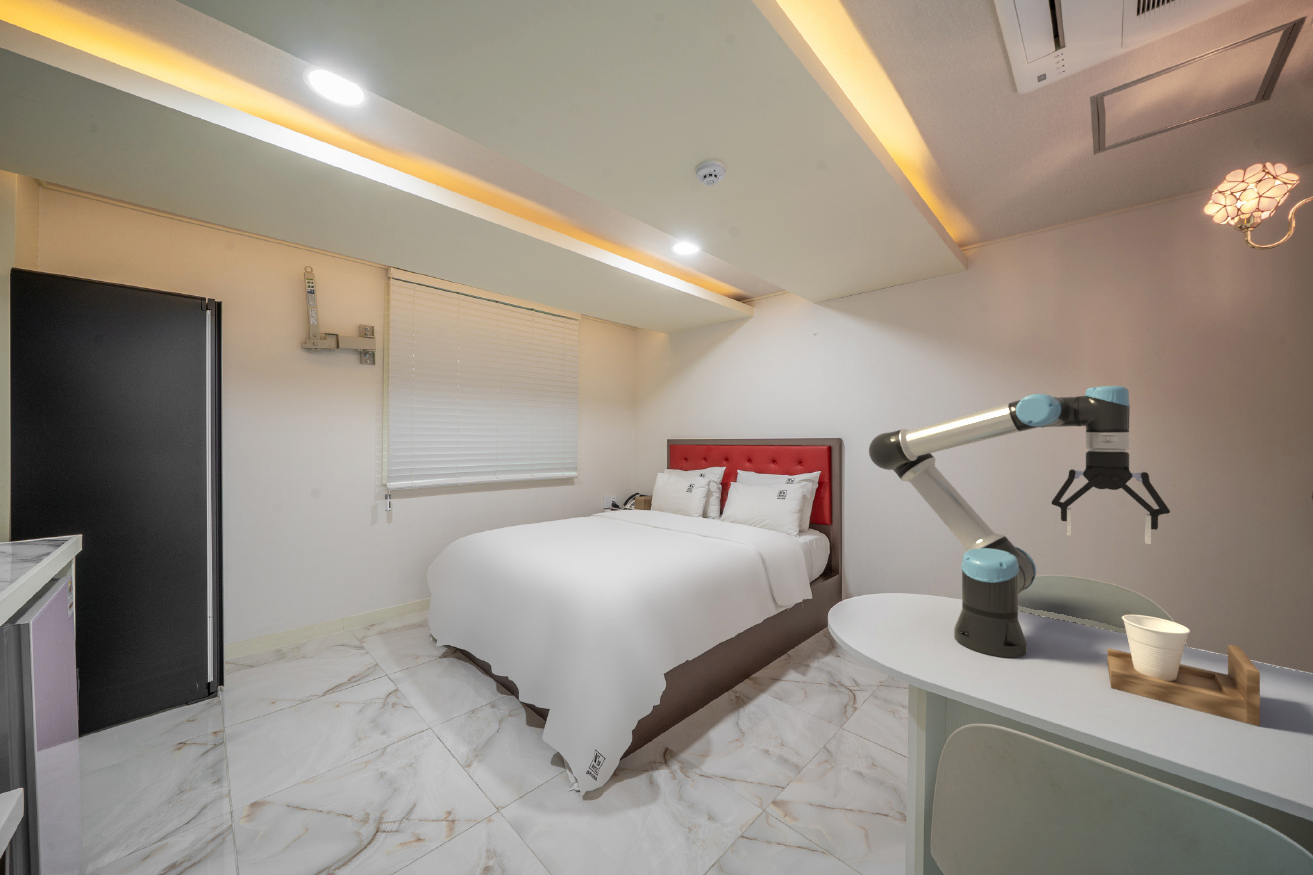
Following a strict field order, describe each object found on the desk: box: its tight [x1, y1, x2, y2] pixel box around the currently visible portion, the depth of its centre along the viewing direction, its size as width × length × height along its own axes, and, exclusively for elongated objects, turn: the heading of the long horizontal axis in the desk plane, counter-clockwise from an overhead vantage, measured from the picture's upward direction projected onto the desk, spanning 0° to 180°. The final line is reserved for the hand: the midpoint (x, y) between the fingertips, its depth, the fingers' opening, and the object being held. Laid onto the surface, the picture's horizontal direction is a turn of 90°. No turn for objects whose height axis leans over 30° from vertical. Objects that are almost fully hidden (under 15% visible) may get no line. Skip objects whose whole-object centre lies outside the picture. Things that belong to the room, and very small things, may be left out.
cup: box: [1121, 614, 1191, 681], centre depth 99 cm, size 10×10×11 cm
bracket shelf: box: [1106, 644, 1261, 727], centre depth 97 cm, size 20×14×10 cm
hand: (1106, 538), depth 111 cm, fingers open, 13 cm apart
